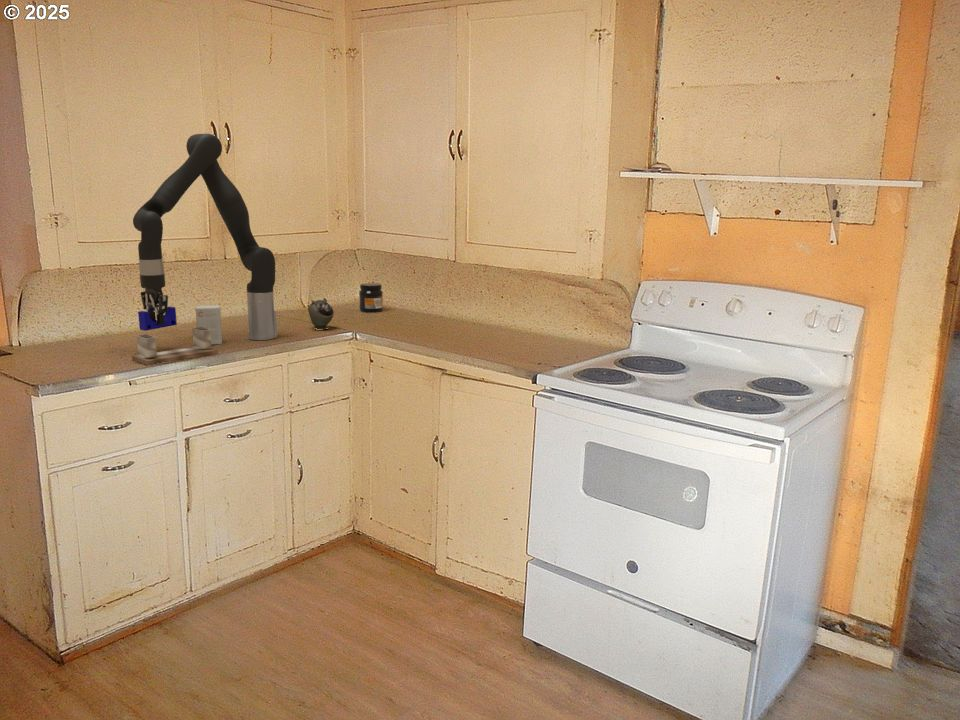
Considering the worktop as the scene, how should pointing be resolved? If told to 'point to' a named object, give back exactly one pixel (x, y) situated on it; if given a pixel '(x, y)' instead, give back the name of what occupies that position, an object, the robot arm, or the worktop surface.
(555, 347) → the worktop surface
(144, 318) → the blue curved piece
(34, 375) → the worktop surface
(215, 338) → the small box
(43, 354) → the worktop surface
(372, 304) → the supplement container
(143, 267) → the robot arm
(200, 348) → the rail board
